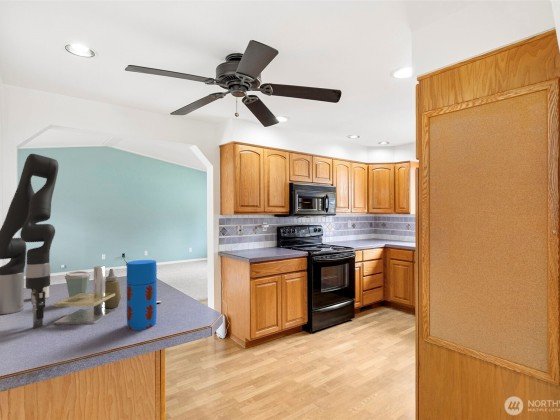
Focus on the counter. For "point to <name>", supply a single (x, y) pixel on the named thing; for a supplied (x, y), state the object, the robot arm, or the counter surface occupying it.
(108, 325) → the counter surface
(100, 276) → the tan and silver stand
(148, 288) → the thermos
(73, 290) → the disposable coffee cup
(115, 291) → the squeeze bottle
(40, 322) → the copper-capped metal rod
